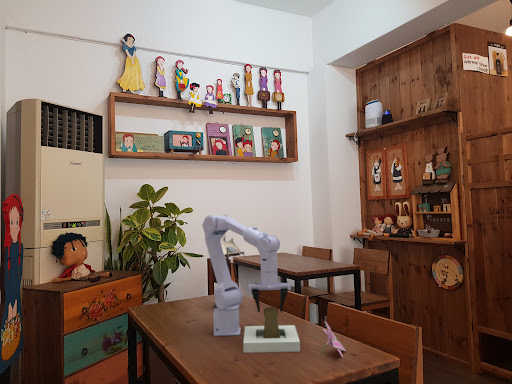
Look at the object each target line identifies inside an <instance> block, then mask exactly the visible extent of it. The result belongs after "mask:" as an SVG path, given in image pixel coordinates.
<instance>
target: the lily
mask: <svg viewBox="0 0 512 384" xmlns="http://www.w3.org/2000/svg"><path fill="white" fill-rule="evenodd" d="M324 323H325V326H326V328H327V330H326V329H324V328H322V331H324V332H325V334H326V336H327V342H326V344H325V345H324V346H323V348H322V349H321V351H320V354H322V353H323V351H324V350H325V348H326V347H327V346H328V345H330V346H332V347H333V348H335V349H337V350H336V351H338V353H339V354H340V356H341V358H343V354H342V352H341V350H342V351H344V352H346V349H345V347H344V346H343V345H342V343H341V342H340V341H339V340H338V337H337V336H336V335H335V334H334V332H332V328H331V326H329V324H328V322H326V321H324Z"/></svg>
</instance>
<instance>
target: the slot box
mask: <svg viewBox="0 0 512 384" xmlns="http://www.w3.org/2000/svg"><path fill="white" fill-rule="evenodd" d="M278 327H279V334H280V338H264V339H263V335H264V325H247V326H246V325H245V326H244V332H243V333H244V334H243V343H242V344H243V345H242V346H243V349H242V350H243V353H245V354H246V353H286V352H287V353H288V352H289V353H291V352H293V353H294V352H297V353H298V352H301V342H300V341H301V340H300V339H299V335H298V331H297V328H296V326H295V324H294V325H293V324H292V325H291V324H290V325H289V324H287V325H285V324H284V325H282V324H281V325H278Z"/></svg>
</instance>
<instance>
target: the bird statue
mask: <svg viewBox="0 0 512 384" xmlns="http://www.w3.org/2000/svg"><path fill="white" fill-rule="evenodd" d="M220 243H221V246H222V249H223V253H224V256H225V259H226V263H227V266H228V267H230V266H231V261H232V260H231V259H230V257H237V256H238V257H239V256H240V257H241V255H243V256H245V251H241V249H239V247H238V245H236V243H235V242H234V237H233V236H232V237H231V239H228V241H226V234H225V235H224V236H223V237H222V238H221V240H220ZM225 291H227V290H225ZM216 308H218V307H217V306H216V304H215V303H214V304H213V309H212V310H214V309H216Z"/></svg>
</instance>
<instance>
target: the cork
mask: <svg viewBox="0 0 512 384" xmlns="http://www.w3.org/2000/svg"><path fill="white" fill-rule="evenodd" d="M263 316H264V324H263V326H264V335H263V339H264V338H280V334H279V327H278V326H279V321H278V316H279V308H278V307H276V306H266V307H265V308H264V309H263Z"/></svg>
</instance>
